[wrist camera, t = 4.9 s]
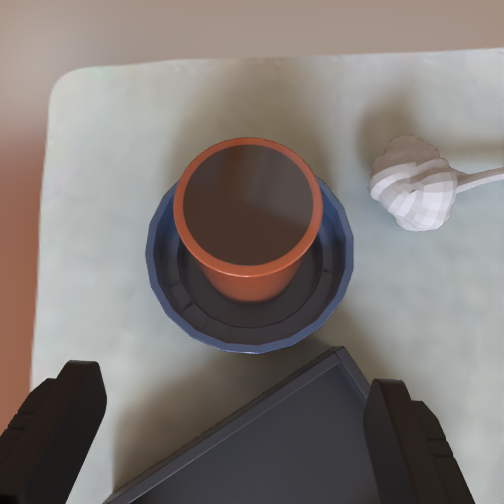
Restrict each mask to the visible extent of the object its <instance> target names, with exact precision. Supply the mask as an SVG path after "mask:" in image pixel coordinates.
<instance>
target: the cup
mask: <svg viewBox="0 0 504 504" xmlns="http://www.w3.org/2000/svg"><path fill="white" fill-rule="evenodd" d="M173 208H174V219H175V224H176V227H177V230H178V233H179V235H180V237H181V239H182V241H183V243H184V244H185V246H186V247H187V249H188V250H189V252H190V253H191V255H192V256H193V258H194V259H195V261H196V262H197V264H198V265H199V267H200V268H201V270H202V271H203V273H204V274H205V276H206V277H207V279H208V280H209V282H210V283H211V285H212V286H213V288H214V289H215V290H216V291H217V292H218V293H219V294H220V295H221V296H222V297H224V298H225V299H227V300H228V301H231V302H233V303H235V304H239V305H244V306H257V305H262V304H265V303H268V302H270V301H272V300H274V299H276V298H277V297H278V296H280V295H281V294H282V293H283V292H284V291H285V290H286V289H287V287H288V286H289V284H290V283H291V281H292V279H293V277H294V275H295V274H296V272H297V270H298V268H299V266H300V265H301V263H302V261H303V259H304V257H305V256H306V254H307V252H308V250H309V248H310V246H311V245H312V243H313V241H314V239H315V237H316V235H317V233H318V230H319V228H320V224H321V220H322V213H323V201H322V195H321V190H320V187H319V184H318V182H317V180H316V177H315V175H314V174H313V172H312V171H311V169H310V168H309V166H308V165H307V164H306V163H305V162H304V160H303V159H301V158H300V157H299V156H298V155H297V154H296V153H294V152H293V151H292V150H290V149H288V148H287V147H285V146H283V145H281V144H278V143H276V142H273V141H270V140H266V139H260V138H236V139H231V140H227V141H224V142H221V143H218V144H216V145H214V146H212V147H210V148H208V149H207V150H205V151H204V152H202V153H201V154H200V155H199V156H197V157H196V158H195V159H194V160H193V161H192V162H191V163H190V164H189V166H188V167H187V169H186V170H185V171H184V173H183V175H182V177H181V178H180V180H179V183H178V185H177V188H176V192H175V196H174V205H173Z"/></svg>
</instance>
